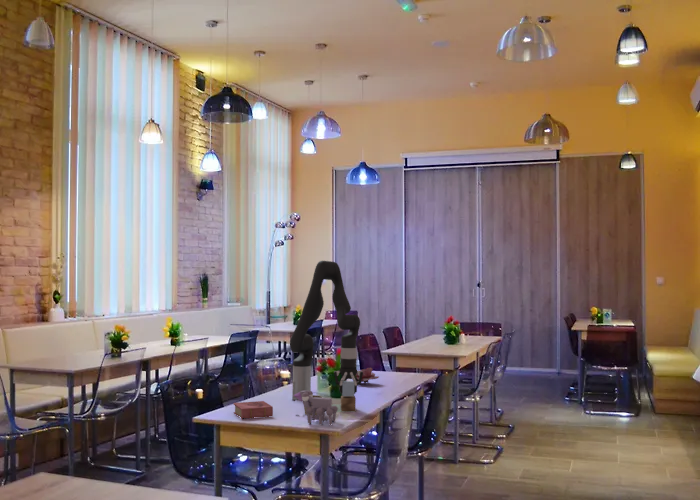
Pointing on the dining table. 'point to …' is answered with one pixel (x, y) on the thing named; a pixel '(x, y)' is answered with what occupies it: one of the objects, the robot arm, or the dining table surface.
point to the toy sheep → (317, 406)
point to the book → (253, 409)
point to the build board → (340, 408)
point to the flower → (366, 375)
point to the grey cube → (348, 388)
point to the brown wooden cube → (348, 403)
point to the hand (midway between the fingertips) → (348, 393)
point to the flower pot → (311, 403)
